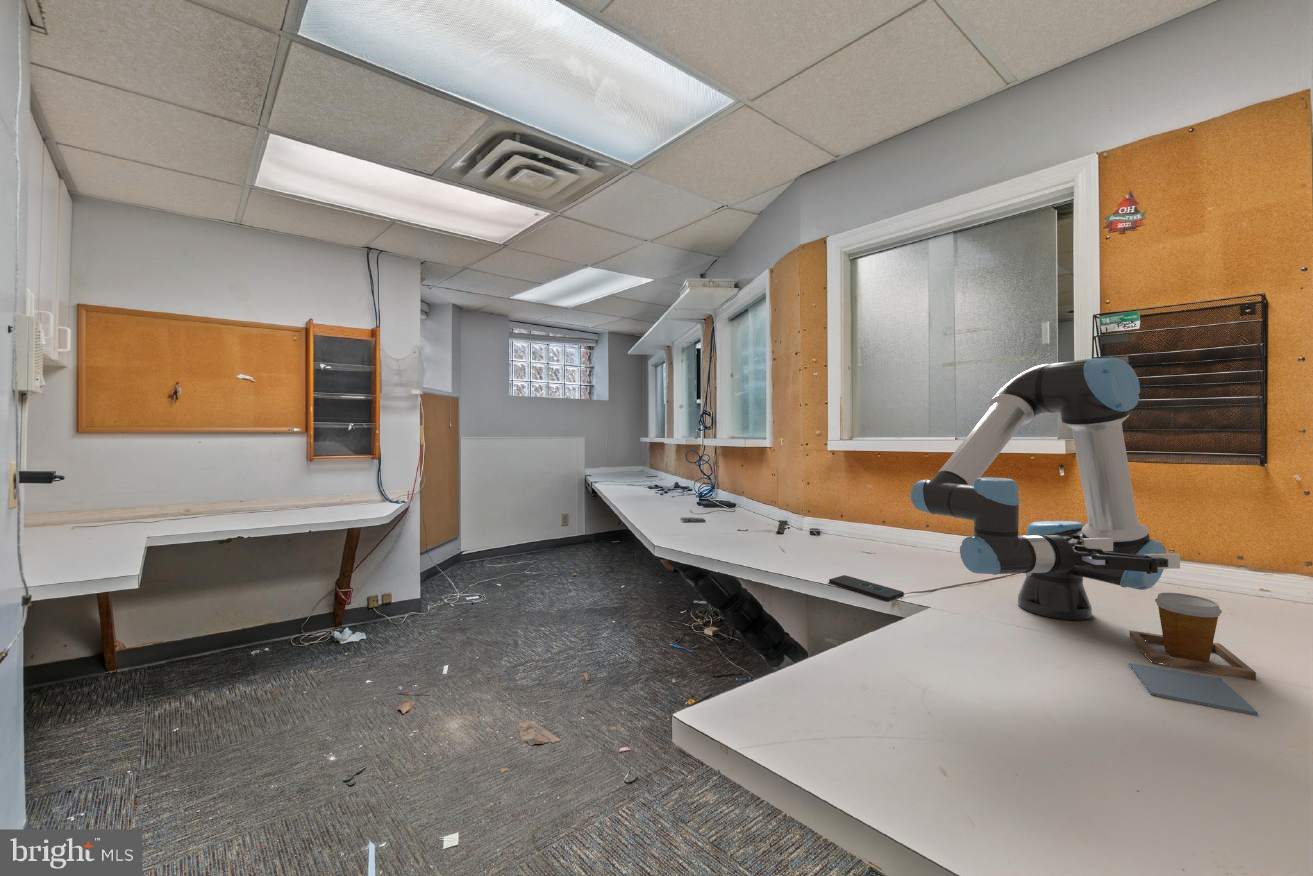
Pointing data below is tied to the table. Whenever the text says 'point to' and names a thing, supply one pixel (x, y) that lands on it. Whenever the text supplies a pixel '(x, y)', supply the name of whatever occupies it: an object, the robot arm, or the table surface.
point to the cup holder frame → (1234, 670)
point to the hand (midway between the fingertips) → (1142, 552)
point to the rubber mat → (1191, 688)
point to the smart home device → (867, 588)
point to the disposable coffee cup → (1188, 625)
